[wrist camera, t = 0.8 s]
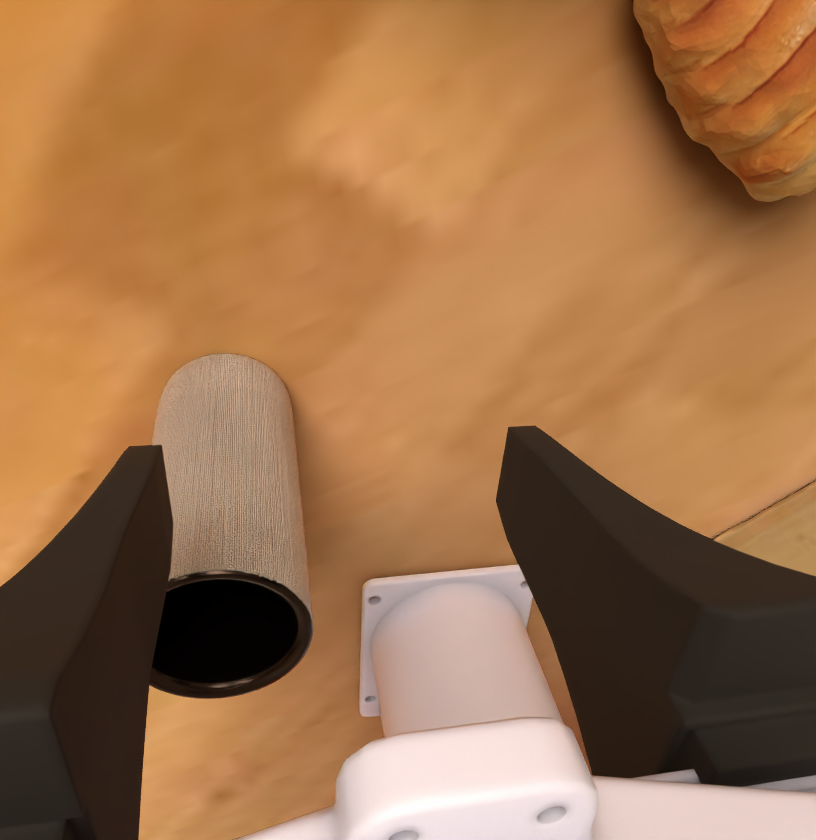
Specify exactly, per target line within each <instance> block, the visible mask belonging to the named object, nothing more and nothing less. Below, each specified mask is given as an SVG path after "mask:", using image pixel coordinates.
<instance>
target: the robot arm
mask: <svg viewBox="0 0 816 840" xmlns="http://www.w3.org/2000/svg"><path fill="white" fill-rule="evenodd" d="M496 503H497V506H498V510H499V513H500V517H501V521H502V524H503V527H504V530H505V534H506V537H507V540H508V542H509V544H510V547H511V549H512V551H513V554H514V556H515V558H516V560H517V562H518V564H516V565H506V566H496V567H486V568H476V569H465V570H455V571H445V572H435V573H425V574H415V575H404V576H394V577H384V578H374V579H370V580H368V581H366V582H365V583H364V584H363V588H362V619H361V651H360V684H359V712H360V715H362V716H364V717H374V716H381V721H382V727H383V733H384V738H380V739H377V740H374V741H370V742H369V743H367V744H366V745H364V746H363V747H362V748H360V749H359V750H357V751H356V752H354V753H353V754H352V755H350V756H349V757H348V758H347V759H346V760H345V761H344V763H343V766H342V768H341V770H340V772H339V774H338V776H337V779H336V799H335V803H334V805H332V806H329V807H326V808H323V809H321V810H318V811H315V812H312V813H309V814H306V815H303V816H300V817H297V818H294V819H292V820H289V821H286V822H283V823H280V824H277V825H274V826H271V827H268V828H266V829H263V830H260V831H257V832H254V833H251V834H248V835H245V836H242V837H240V838H237V839H233V840H816V576H813V575H810V574H806V573H803V572H800V571H796V570H793V569H790V568H786V567H783V566H780V565H776V564H773V563H770V562H768V561H765V560H762V559H759V558H757V557H754V556H751V555H749V554H746V553H743V552H741V551H738V550H736V549H733V548H731V547H728V546H726V545H723V544H721V543H719V542H717V541H714V540H712V539H710V538H708V537H706V536H703V535H701V534H699V533H697V532H695V531H693V530H691V529H689V528H687V527H685V526H683V525H681V524H679V523H677V522H675V521H673V520H671V519H670V518H668V517H666V516H664V515H662V514H660V513H659V512H657V511H655V510H653V509H652V508H650V507H648V506H647V505H645V504H643V503H642V502H640V501H638V500H637V499H635V498H634V497H632V496H631V495H629V494H628V493H626V492H625V491H623V490H622V489H620V488H619V487H617V486H616V485H614V484H613V483H611V482H610V481H609V480H607V479H606V478H604V477H603V476H602V475H600V474H599V473H597V472H596V471H595V470H593V469H592V468H591V467H589V466H588V465H587V464H585V463H584V462H583V461H581V460H580V459H579V458H577V457H576V456H575V455H574V454H572V453H571V452H570V451H568V450H567V449H566V448H564V447H563V446H562V445H561V444H559V443H558V442H557V441H555V440H554V439H553V438H552V437H550V436H549V435H548V434H546V433H545V432H543V431H542V430H541V429H539V428H538V427H536V426H520V427H508V433H507V438H506V444H505V450H504V456H503V462H502V468H501V474H500V479H499V485H498V491H497V497H496ZM172 541H173V517H172V510H171V504H170V497H169V490H168V483H167V477H166V470H165V463H164V456H163V450H162V445H147V446H129V447H128V448H127V449H126V450H125V451H124V453H123V454H122V455H121V457H120V458H119V460H118V461H117V462H116V464H115V465H114V467H113V468H112V469H111V471H110V472H109V473H108V475H107V476H106V477H105V479H104V480H103V481H102V483H101V484H100V485H99V487H98V488H97V489H96V490H95V492H94V493H93V494H92V495H91V497H90V498H89V499H88V500H87V501H86V503H85V504H84V505H83V506H82V508H81V509H80V510H79V511H78V512H77V514H76V515H75V516H74V517H73V518H72V519H71V520H70V521H69V522H68V524H67V525H66V526H65V527H64V528H63V529H62V530H61V531H60V532H59V533H58V534H57V535H56V537H55V538H54V539H53V540H52V541H51V542H50V543H49V544H48V545H47V546H46V547H45V548H44V549H43V550H42V551H41V552H40V553H39V554H38V555H37V556H36V557H35V558H34V559H33V560H31V561H30V562H29V563H28V564H27V565H26V566H25V567H24V568H23V569H22V570H20V571H19V572H18V573H17V574H16V575H15V576H14V577H12V578H11V579H10V580H9V581H7V582H6V583H5V584H3V585H2V586H1V587H0V840H138V835H139V818H140V801H141V784H142V769H143V755H144V742H145V728H146V716H147V704H148V692H149V682H150V675H151V668H152V662H153V657H154V652H155V647H156V642H157V636H158V631H159V626H160V621H161V616H162V611H163V606H164V601H165V596H166V590H167V585H168V580H169V574H170V569H171V557H172ZM524 581H526V582H524ZM374 596H377V597H375V598H371V597H374ZM533 597H534V599H535V602H536V604H537V606H538V608H539V610H540V612H541V614H542V617H543V619H544V621H545V623H546V626H547V628H548V631H549V633H550V636H551V638H552V641H553V644H554V647H555V650H556V653H557V656H558V659H559V662H560V665H561V668H562V671H563V674H564V677H565V680H566V684H567V687H568V690H569V693H570V697H571V700H572V703H573V707H574V710H575V713H576V716H577V720H578V723H579V727H580V731H581V734H582V738H583V742H584V745H585V749H586V753H587V756H588V760H589V763H590V767H591V771H592V775H593V776H592V775H591V774H590V771H589V769H588V766H587V764H586V761H585V759H584V757H583V755H582V752H581V750H580V747H579V745H578V742H577V740H576V738H575V735H574V733H573V730H572V729H570V728H569V727H567V726H566V725H564V723H563V720H562V718H561V715H560V713H559V710H558V708H557V705H556V703H555V700H554V698H553V695H552V693H551V690H550V688H549V686H548V683H547V681H546V678H545V676H544V673H543V671H542V668H541V666H540V663H539V661H538V658H537V656H536V653H535V651H534V648H533V646H532V644H531V641H530V639H529V636H528V634H527V631H526V628H527V624H528V619H529V615H530V610H531V605H532V601H533Z"/></svg>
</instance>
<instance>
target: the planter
mask: <svg viewBox="0 0 816 840" xmlns="http://www.w3.org/2000/svg"><path fill="white" fill-rule="evenodd" d="M151 445H162V450H163V456H164V463H165V470H166V477H167V483H168V490H169V497H170V504H171V510H172V517H173V541H172V557H171V569H170V574H169V580H168V585H167V590H166V596H165V601H164V606H163V611H162V616H161V621H160V626H159V631H158V636H157V642H156V647H155V652H154V657H153V662H152V668H151V675H150V682H149V685H150V686H152V687H154V688H156V689H159V690H161V691H164V692H167V693H170V694H174V695H178V696H183V697H189V698H200V699H215V698H226V697H233V696H238V695H242V694H246V693H250V692H253V691H256V690H258V689H261V688H263V687H266V686H268V685H270V684H272V683H274V682H275V681H277V680H279V679H280V678H282V677H283V676H285V675H286V674H287V673H289V672H290V671H291V670H292V669H293V668H294V667H295V666H296V665H297V664H298V663H299V662H300V661H301V659H302V658H303V656H304V655H305V653H306V652H307V650H308V648H309V646H310V643H311V640H312V636H313V615H312V604H311V594H310V584H309V573H308V563H307V553H306V543H305V533H304V523H303V512H302V502H301V492H300V482H299V472H298V461H297V451H296V441H295V431H294V421H293V411H292V405H291V401H290V396H289V393H288V391H287V388H286V386H285V384H284V383H283V381H282V380H281V379H280V377H279V376H278V375H277V374H276V373H275V372H274V371H273V370H271V369H270V368H269V367H268V366H266V365H264V364H263V363H261V362H259V361H257V360H255V359H252V358H249V357H246V356H242V355H237V354H226V353H224V354H212V355H207V356H203V357H200V358H197V359H194V360H192V361H190V362H188V363H187V364H185V365H183V366H182V367H181V368H179V369H178V370H177V371H176V372H175V373H174V374H173V375H172V376H171V377H170V379H169V380H168V382H167V383H166V385H165V387H164V389H163V392H162V395H161V399H160V402H159V406H158V411H157V416H156V422H155V427H154V433H153V438H152V443H151Z"/></svg>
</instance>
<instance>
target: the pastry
mask: <svg viewBox="0 0 816 840" xmlns="http://www.w3.org/2000/svg"><path fill="white" fill-rule="evenodd" d="M633 12H634V15H635V18H636V20H637V21H638V23H639V25H640V26H641V28H642V31H643V35H644V39H645V41H646V43H647V44H648V45H649V47H650V49H651V52H652V55H653V63H654V68H655V73H656V75H657V77H658V78H659V79H660V80H661V82H662V84H663V85H664V88H665V92H666V98H667V101H668V103H669V104H670V105H671V106H673V107H674V108H675V110H676V112H677V114H678V116H679V118H680V120H681V123H682V126H683V128H684V130H685V131H686V133H687V135H688V136H689V137H690V138H691V139H692V140H693V141H695V142H697V143H700V144H703V145H705V146H708V147H709V148H710V150H711V151H712V152H713V153H714V154H715V155H716V157H717V159H718V160H719V161H720V162H721V163H722V164H723V165H724V166H725V167H726V168H728V169H729V170H730V171H732V172H733V173H734V174H735V175H736V176H737V177H738V178H739V179H740V180H741V181H742V182H743V184H744V186H745V188H746V190H747V192H748V193H749V194H750V195H751V196H752V197H753V198H754V199H756V200H759V201H766V202H770V201H776V200H780V199H782V198H784V197H786V196H788V195H804V194H806V193H808V192H811V191H813V190H815V189H816V0H634V4H633Z"/></svg>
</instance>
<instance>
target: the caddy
mask: <svg viewBox="0 0 816 840" xmlns="http://www.w3.org/2000/svg"><path fill="white" fill-rule="evenodd" d="M714 541H717V542H719V543H721V544H723V545H726V546H728V547H731V548H733V549H736V550H738V551H741V552H743V553H746V554H749V555H751V556H754V557H757V558H759V559H762V560H765V561H768V562H770V563H773V564H776V565H780V566H783V567H786V568H790V569H793V570H796V571H800V572H803V573H806V574H810V575H813V576H816V481H814V482H813V483H811V484H809V485H808V486H806V487H804V488H803V489H801V490H799V491H797V492H796V493H794V494H792V495H790V496H789V497H787V498H785V499H783V500H781V501H780V502H778V503H776V504H774V505H773V506H771V507H769V508H767V509H765V510H764V511H762V512H761V513H759V514H758V515H756V516H755V517H753V518H752V519H749V520H747V521H745V522H743V523H741V524H738V525H736V526H734V527H732V528H730V529H729V530H727V531H726V532H724V533H723V534H721V535H720V536H718V537H717V538H715V539H714Z"/></svg>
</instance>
